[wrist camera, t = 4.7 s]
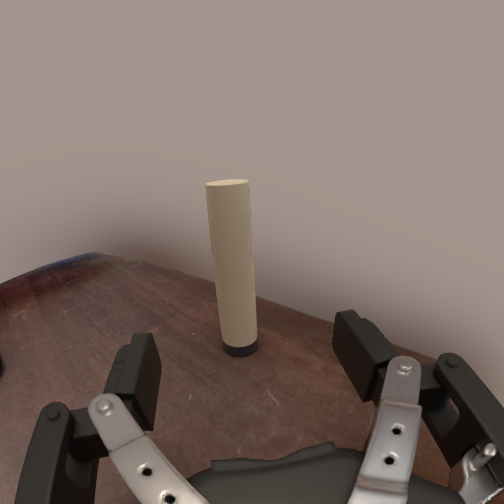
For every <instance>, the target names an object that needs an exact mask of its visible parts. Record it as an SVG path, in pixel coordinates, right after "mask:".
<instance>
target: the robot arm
mask: <svg viewBox="0 0 504 504" xmlns="http://www.w3.org/2000/svg"><path fill="white" fill-rule="evenodd" d="M332 345H333V350H334V352H335V354H336V356H337V358H338V359H339V361H340V363H341V365H342V366H343V368H344V370H345V372H346V373H347V375H348V377H349V379H350V380H351V382H352V384H353V386H354V388H355V389H356V391H357V393H358V395H359V396H360V398H361V400H362V402H363V403H364V402H367V401H370V400H373V402H374V406H373V409H372V412H371V415H370V419H369V422H368V425H367V428H366V431H365V434H364V437H363V440H362V443H361V445H360V447H359V450H354V449H348V448H335V445H334V443H333V441H331V442H327V443H323V444H319V445H315V446H311V447H306V448H303V449H301V450H299V451H296V452H294V453H292V454H289V455H287V456H285V457H282V458H280V459H277V460H259V459H246V458H237V459H226V460H211V468H209V469H206V470H203V471H200V472H198V473H196V474H194V475H193V476H191V477H189V478H188V479H187V480H186V479H185V478H184V477H183V476H182V475H181V474H180V473H179V472H178V471H177V470H176V469H175V468H174V466H173V465H172V464H171V463H170V462H169V461H168V460H167V458H166V457H165V456H164V455H163V454H162V453H161V451H160V450H159V449H158V448H157V446H156V445H155V444H154V443H153V442H152V440H151V439H150V438H149V437H148V435H147V434H145V433H144V431H153V429H154V421H155V413H156V405H157V398H158V391H159V385H160V378H161V371H162V370H161V361H160V357H159V354H158V351H157V347H156V344H155V341H154V337H153V335H152V333H151V332H150V333H134V335H133V337H132V340H131V343H130V345H124V346H123V347H122V348H121V349H120V350H119V351H118V352H117V354H116V357H115V360H114V363H113V365H112V370H111V371H110V374H109V377H108V380H107V383H106V386H105V389H104V392H103V394H101V395H99V396H97V397H95V398H94V399H93V400H92V401H91V402H90V403H89V406H88V407H87V408H83V409H77V410H71V411H70V410H69V409H68V408H67V406H66V405H65V404H63V403H60V402H53V403H50V404H48V405H46V406H45V407H44V408H43V409H42V411H41V413H40V415H39V418H38V420H37V423H36V426H35V429H34V432H33V435H32V438H31V441H30V444H29V447H28V451H27V454H26V457H25V461H24V464H23V468H22V472H21V476H20V480H19V484H18V488H17V493H16V498H15V503H14V504H94V499H95V489H96V479H97V471H98V464H99V458H102V457H108V456H110V458H111V460H112V461H113V463H114V465H115V466H116V468H117V469H118V471H119V473H120V474H121V476H122V477H123V479H124V480H125V482H126V483H127V484H128V486H129V487H130V489H131V490H132V492H133V493H134V494H135V496H136V497H137V498H138V500H139V501H140V502H141V504H487V503H489V502H490V501H492V500H493V499H494V498H496V497H497V496H499V495H500V494H501V493H503V492H504V408H503V407H502V405H501V404H500V403H499V402H498V400H497V399H496V398H495V396H494V395H493V394H492V393H491V391H490V390H489V389H488V388H487V387H486V385H485V384H484V383H483V382H482V381H481V379H480V378H479V377H478V376H477V375H476V373H475V372H474V371H473V370H472V369H471V368H470V367H469V365H468V364H467V363H466V362H465V361H464V360H463V359H462V357H460V356H459V355H457V354H454V353H444V354H442V355H440V356H439V358H438V360H437V362H436V364H426V365H420V364H419V363H418V362H417V361H416V360H415V359H413V358H411V357H408V356H400V354H399V353H398V352H397V351H396V350H395V348H394V347H393V346H392V345H391V343H390V342H389V341H388V340H387V339H386V338H385V337H384V335H383V334H382V333H381V332H380V331H379V329H378V328H377V327H376V326H375V324H374V323H372V322H370V321H369V320H367V319H365V318H363V319H361V318H360V317H359V316H358V314H357V313H356V312H355V311H354V310H347V311H341V312H337V313H336V316H335V322H334V330H333V338H332ZM450 398H451V399H452V401H453V402H454V403H455V405H456V406H457V408H458V410H459V414H460V415H458V414H457V412H456V411H455V409H454V408H453V406H452V405H451V403H450V402H449V399H450ZM421 417H422V419H423V420H424V422H425V424H426V426H427V427H428V429H429V431H430V432H431V434H432V436H433V438H434V439H435V441H436V443H437V445H438V446H439V448H440V450H441V452H442V454H443V455H444V457H445V459H446V461H447V463H448V465H449V467H450V468H451V470H450V473H449V483H448V487H449V488H447V487H444V486H442V485H439V484H436V483H433V482H431V481H428V480H425V479H423V478H420V477H418V476H415V475H413V474H411V470H412V466H413V461H414V456H415V451H416V446H417V440H418V434H419V428H420V421H421Z"/></svg>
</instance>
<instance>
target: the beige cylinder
mask: <svg viewBox="0 0 504 504" xmlns="http://www.w3.org/2000/svg"><path fill="white" fill-rule="evenodd" d="M205 185H206V198H207V208H208V219H209V230H210V240H211V250H212V259H213V267H214V277H215V285H216V294H217V302H218V309H219V317H220V325H221V332H222V339H223V346H224V350H225V351H226V352H227V353H228V354H230V355H232V356H237V357H243V356H247V355H250V354H252V353H253V352H254V351H255V350H256V349H257V347H258V339H257V320H256V301H255V282H254V265H253V245H252V229H251V228H252V227H251V208H250V189H249V180H243V179H234V180H233V179H231V180H220V181H213V182H209V183H206V184H205Z"/></svg>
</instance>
